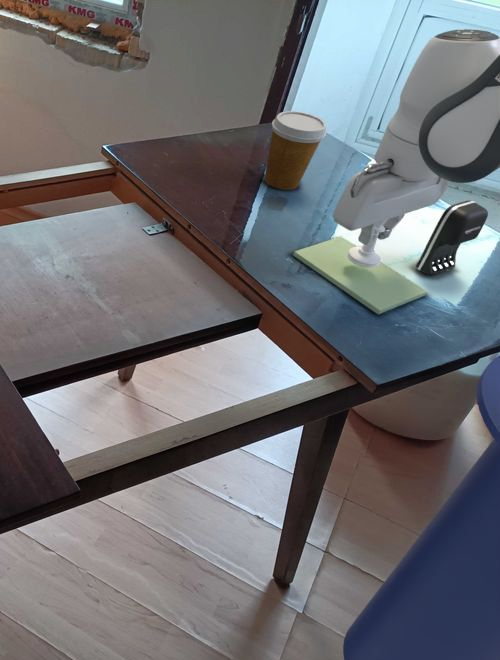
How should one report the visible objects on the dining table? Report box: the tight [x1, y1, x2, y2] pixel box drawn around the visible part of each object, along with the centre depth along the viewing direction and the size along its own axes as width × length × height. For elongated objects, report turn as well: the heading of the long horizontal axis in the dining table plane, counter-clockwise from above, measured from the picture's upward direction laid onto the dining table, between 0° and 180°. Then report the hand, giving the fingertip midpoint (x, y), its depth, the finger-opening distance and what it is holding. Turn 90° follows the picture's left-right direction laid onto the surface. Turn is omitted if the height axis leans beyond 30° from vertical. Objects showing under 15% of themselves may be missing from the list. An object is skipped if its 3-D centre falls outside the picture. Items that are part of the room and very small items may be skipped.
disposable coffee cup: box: [263, 110, 327, 191], centre depth 126 cm, size 10×10×12 cm
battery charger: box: [415, 200, 489, 277], centre depth 106 cm, size 7×4×11 cm, turn 118°
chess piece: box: [347, 219, 388, 268], centre depth 102 cm, size 5×5×10 cm
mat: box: [292, 236, 428, 315], centre depth 107 cm, size 17×11×1 cm, turn 30°
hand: (372, 239), depth 103 cm, fingers closed on chess piece
